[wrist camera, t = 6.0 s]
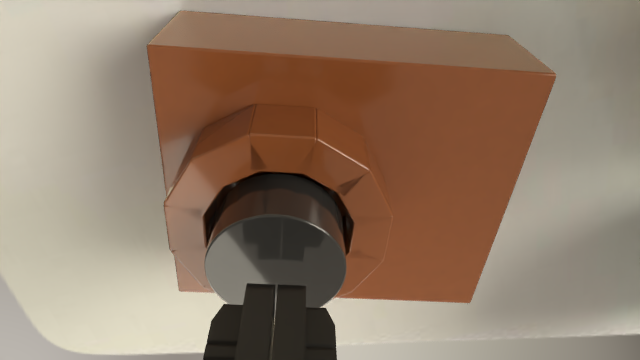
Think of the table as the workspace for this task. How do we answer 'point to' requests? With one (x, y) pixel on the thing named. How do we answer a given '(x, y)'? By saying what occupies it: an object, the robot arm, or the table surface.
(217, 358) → the robot arm
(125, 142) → the table surface
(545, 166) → the table surface
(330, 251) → the grey push button
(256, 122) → the push button box
